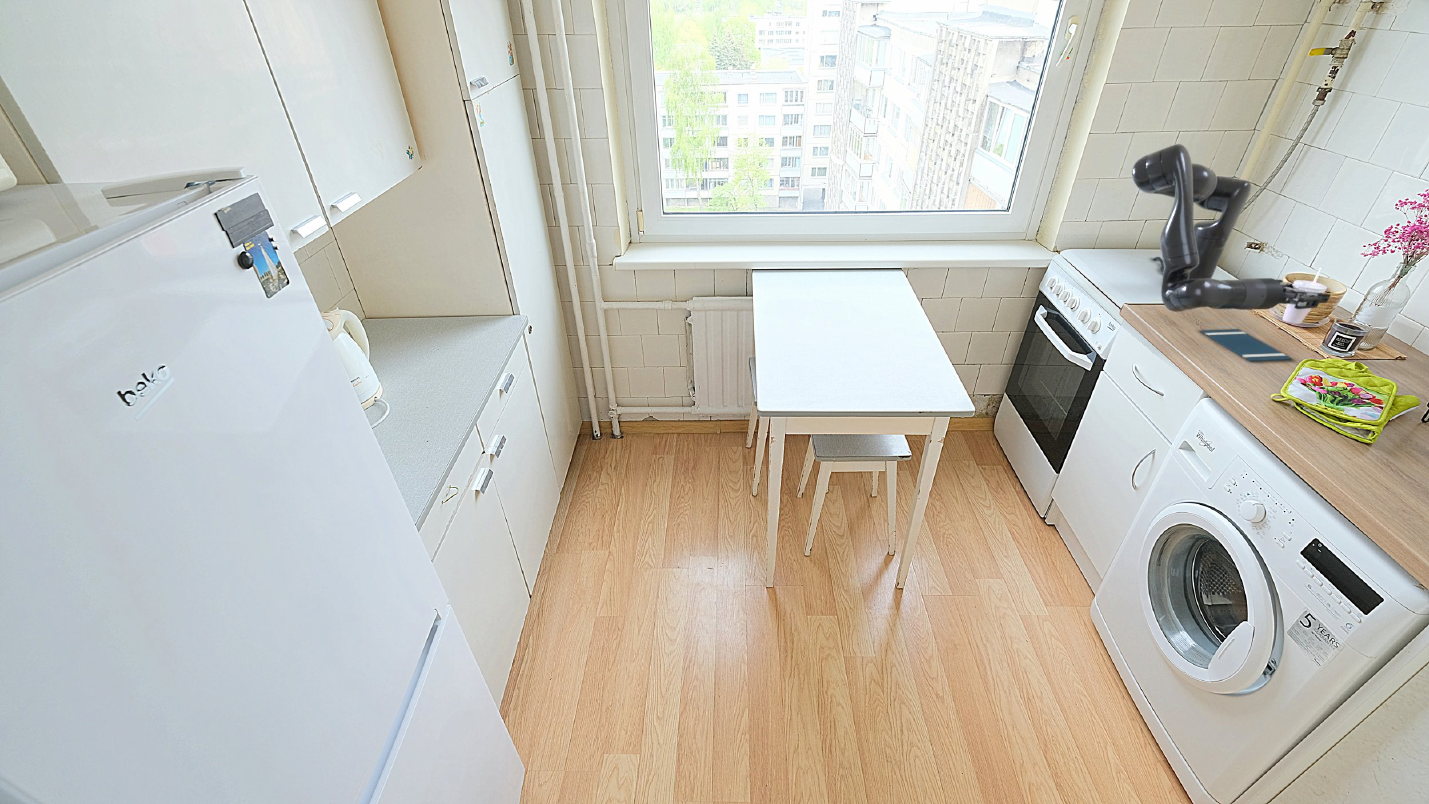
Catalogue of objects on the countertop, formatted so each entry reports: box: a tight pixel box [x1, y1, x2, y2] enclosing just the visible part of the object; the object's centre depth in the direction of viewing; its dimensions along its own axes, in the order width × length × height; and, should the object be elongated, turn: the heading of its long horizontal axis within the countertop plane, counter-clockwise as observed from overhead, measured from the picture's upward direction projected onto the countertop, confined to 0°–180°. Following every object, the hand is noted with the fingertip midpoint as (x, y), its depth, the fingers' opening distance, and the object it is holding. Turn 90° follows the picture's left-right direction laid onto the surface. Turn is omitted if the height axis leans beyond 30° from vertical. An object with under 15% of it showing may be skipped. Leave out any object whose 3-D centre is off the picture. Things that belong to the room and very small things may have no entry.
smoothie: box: [1282, 266, 1328, 325], centre depth 156 cm, size 6×6×14 cm
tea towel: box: [1200, 328, 1293, 362], centre depth 162 cm, size 17×10×1 cm, turn 4°
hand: (1315, 292), depth 156 cm, fingers closed on smoothie, 6 cm apart
